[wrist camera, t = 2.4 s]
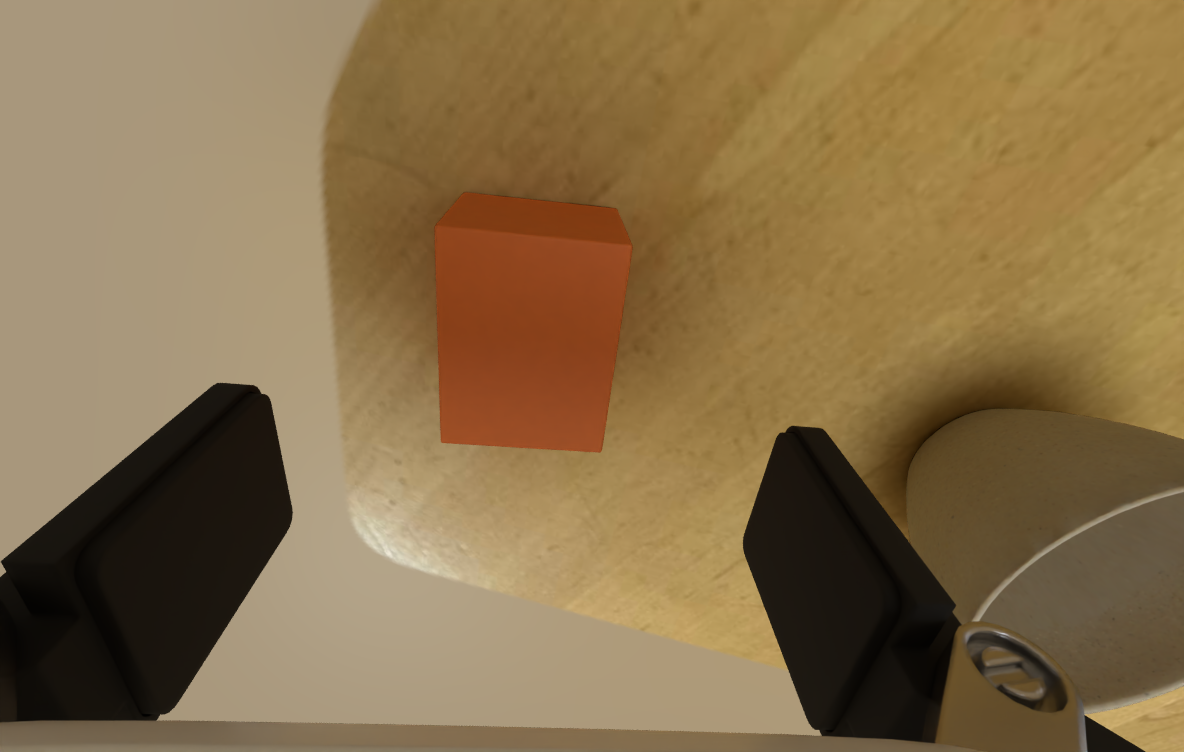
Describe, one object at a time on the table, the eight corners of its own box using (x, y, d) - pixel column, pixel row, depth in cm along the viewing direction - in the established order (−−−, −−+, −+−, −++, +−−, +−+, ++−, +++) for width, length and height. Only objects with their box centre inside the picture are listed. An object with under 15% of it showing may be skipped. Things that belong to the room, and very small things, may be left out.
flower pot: (992, 566, 24) (1140, 734, 18) (801, 525, 22) (893, 696, 16) (1165, 386, 20) (1442, 527, 14) (944, 315, 18) (1147, 441, 12)
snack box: (463, 191, 15) (433, 225, 12) (617, 207, 16) (633, 245, 12) (463, 373, 18) (440, 443, 15) (594, 383, 19) (601, 453, 15)
